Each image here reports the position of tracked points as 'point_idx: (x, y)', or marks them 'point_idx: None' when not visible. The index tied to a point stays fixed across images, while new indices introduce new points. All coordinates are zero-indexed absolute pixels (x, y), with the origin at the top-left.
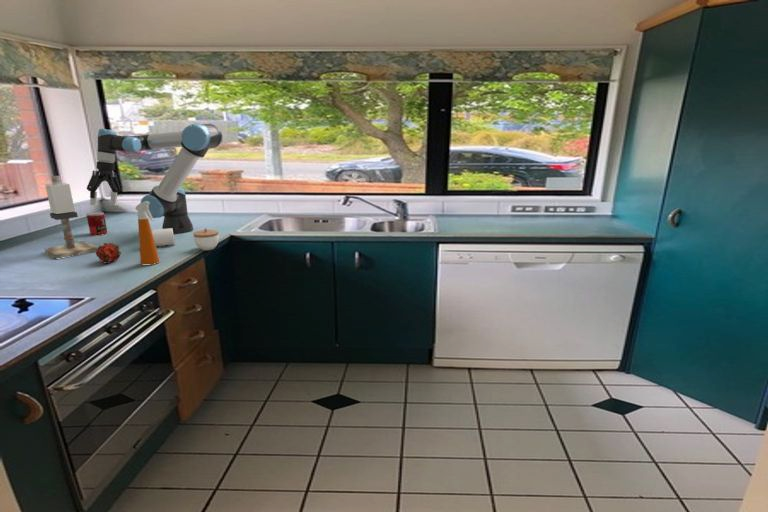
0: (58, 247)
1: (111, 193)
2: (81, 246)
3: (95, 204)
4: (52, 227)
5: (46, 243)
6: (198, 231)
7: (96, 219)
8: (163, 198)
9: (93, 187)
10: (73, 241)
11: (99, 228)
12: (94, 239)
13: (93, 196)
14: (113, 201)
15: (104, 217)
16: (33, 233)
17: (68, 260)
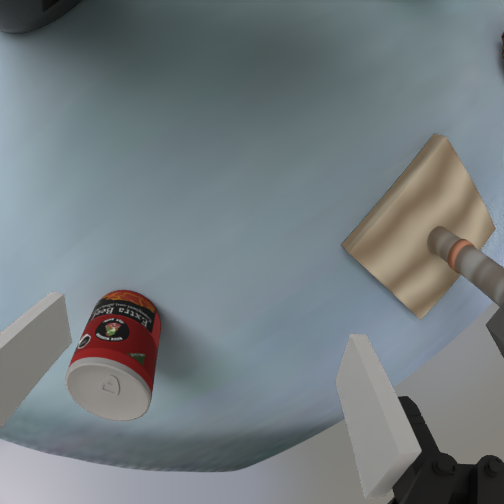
0: (422, 286)
1: (8, 411)
2: (429, 209)
3: (368, 340)
4: (103, 460)
5: (289, 390)
6: None
7: (141, 356)
8: None
9: (482, 492)
10: (452, 236)
11: (143, 318)
12: (230, 275)
13: (410, 411)
14: (47, 334)
15: (87, 343)
16: (170, 465)
17: (499, 180)
